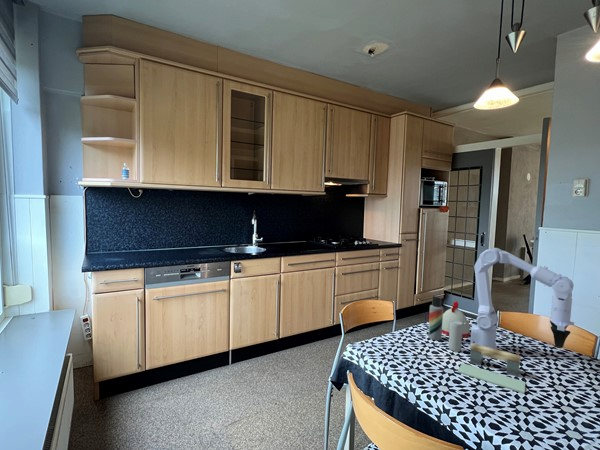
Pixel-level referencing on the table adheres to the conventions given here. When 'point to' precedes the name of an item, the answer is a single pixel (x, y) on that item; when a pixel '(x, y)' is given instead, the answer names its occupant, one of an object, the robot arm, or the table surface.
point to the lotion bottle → (435, 319)
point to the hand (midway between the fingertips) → (558, 343)
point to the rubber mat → (492, 377)
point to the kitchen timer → (455, 315)
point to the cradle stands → (511, 365)
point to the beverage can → (455, 336)
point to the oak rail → (495, 353)
